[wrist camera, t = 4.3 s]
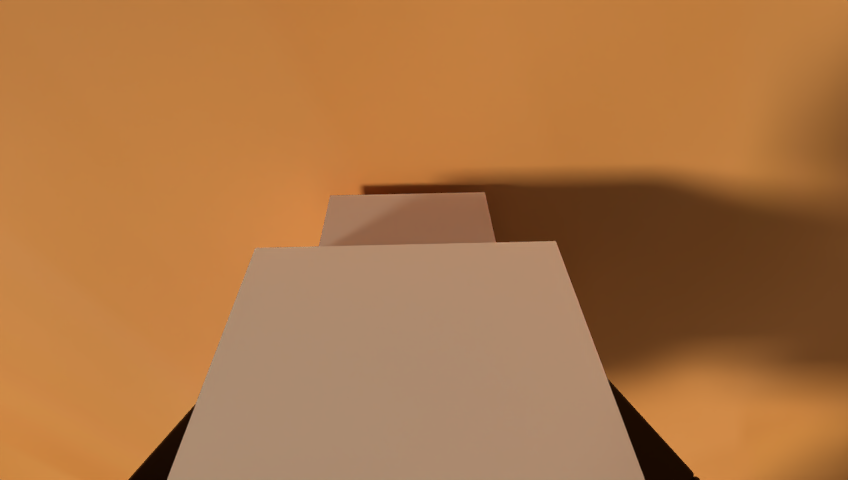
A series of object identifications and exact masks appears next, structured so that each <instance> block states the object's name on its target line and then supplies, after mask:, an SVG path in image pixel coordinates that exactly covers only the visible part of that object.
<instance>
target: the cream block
mask: <svg viewBox="0 0 848 480" xmlns="http://www.w3.org/2000/svg"><path fill="white" fill-rule="evenodd" d="M167 480H645V478H644V476H643V473H642V470H641V468H640V465H639V462H638V460H637V457H636V454H635V452H634V449H633V446H632V444H631V441H630V438H629V436H628V433H627V430H626V428H625V425H624V422H623V420H622V417H621V414H620V412H619V409H618V406H617V404H616V401H615V398H614V396H613V393H612V390H611V388H610V385H609V382H608V380H607V377H606V374H605V372H604V369H603V366H602V363H601V361H600V358H599V355H598V353H597V350H596V347H595V345H594V342H593V339H592V337H591V334H590V331H589V329H588V326H587V323H586V321H585V318H584V315H583V313H582V310H581V307H580V305H579V302H578V299H577V297H576V294H575V291H574V289H573V286H572V283H571V281H570V278H569V275H568V273H567V270H566V267H565V265H564V262H563V259H562V257H561V254H560V251H559V248H558V246H557V243H556V241H536V242H496V240H495V236H494V231H493V227H492V222H491V218H490V213H489V209H488V204H487V200H486V195H485V192H469V193H423V194H377V195H331V196H330V199H329V204H328V208H327V212H326V217H325V221H324V226H323V230H322V235H321V239H320V244H319V246H318V247H275V248H255V250H254V253H253V255H252V258H251V261H250V263H249V266H248V269H247V271H246V274H245V276H244V279H243V282H242V284H241V287H240V289H239V292H238V295H237V297H236V300H235V303H234V305H233V308H232V310H231V313H230V316H229V318H228V321H227V324H226V326H225V329H224V331H223V334H222V337H221V339H220V342H219V345H218V347H217V350H216V352H215V355H214V358H213V360H212V363H211V365H210V368H209V371H208V373H207V376H206V379H205V381H204V384H203V386H202V389H201V392H200V394H199V397H198V400H197V402H196V405H195V407H194V410H193V413H192V415H191V418H190V421H189V423H188V426H187V428H186V431H185V434H184V436H183V439H182V441H181V444H180V447H179V449H178V452H177V455H176V457H175V460H174V462H173V465H172V468H171V470H170V473H169V476H168V478H167Z"/></svg>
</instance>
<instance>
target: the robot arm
mask: <svg viewBox="0 0 848 480" xmlns="http://www.w3.org/2000/svg"><path fill="white" fill-rule="evenodd" d="M607 380H608V379H607ZM608 382H609V385H610V388H611V390H612V393H613V396H614V398H615V401H616V404H617V406H618V409H619V412H620V414H621V417H622V420H623V422H624V425H625V428H626V430H627V433H628V436H629V438H630V441H631V444H632V446H633V449H634V452H635V454H636V457H637V460H638V462H639V465H640V468H641V470H642V473H643V476H644V478H645V480H700V479H699V478H698V477H693V476H694V474H693V472H692V471H691V470H690V469H689V467H688V466H687V465H686V464H685V463H684V462H683V461H682V460H681V459H680V458H679V456H678V455H677V454H676V453H675V452H674V451H673V450H672V449H671V448H670V447H669V445H668V444H667V443H666V442H665V441H664V440H663V439H662V438H661V437H660V436H659V434H658V433H657V432H656V431H655V430H654V429H653V428H652V427H651V426H650V425H649V424H648V422H647V421H646V420H645V419H644V418H643V417H642V416H641V415H640V414H639V413H638V411H637V410H636V409H635V408H634V407H633V406H632V405H631V404H630V403H629V402H628V400H627V399H626V398H625V397H624V396H623V395H622V394H621V393H620V392H619V391H618V390H617V388H616V387H615V386H614V385H613V384H612V383H611V382H610V381H609V380H608ZM195 405H196V404H195ZM195 405H194V406H193V407H192V409H191V410H190V411H189V412H188V413H187V414H186V415H185V416H184V418H183V419H182V420H181V421H180V422H179V423H178V424H177V425H176V427H175V428H174V429H173V430H172V431H171V432H170V433H169V435H168V436H167V437H166V438H165V439H164V440H163V441H162V442H161V444H160V445H159V446H158V447H157V448H156V449H155V450H154V451H153V453H152V454H151V455H150V456H149V457H148V458H147V459H146V460H145V462H144V463H143V464H142V465H141V466H140V467H139V468H138V469H137V471H136V472H135V473H134V474H133V475H132V476H131V477H130V478H129V480H167V478H168V476H169V473H170V470H171V468H172V465H173V462H174V460H175V457H176V455H177V452H178V449H179V447H180V444H181V441H182V439H183V436H184V434H185V431H186V428H187V426H188V423H189V421H190V418H191V415H192V413H193V410H194V407H195Z"/></svg>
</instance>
